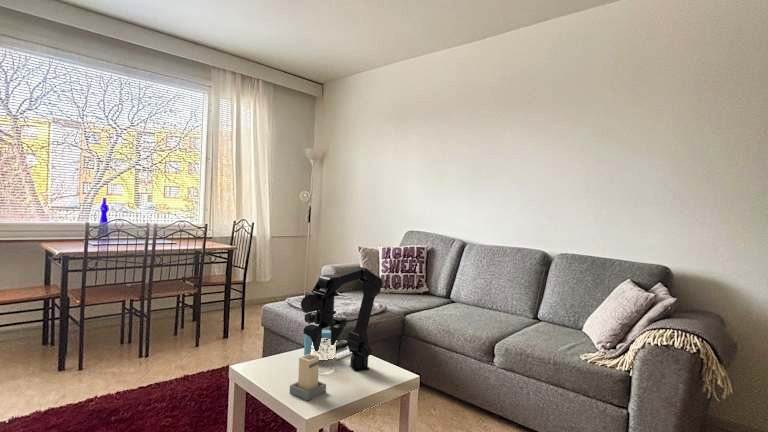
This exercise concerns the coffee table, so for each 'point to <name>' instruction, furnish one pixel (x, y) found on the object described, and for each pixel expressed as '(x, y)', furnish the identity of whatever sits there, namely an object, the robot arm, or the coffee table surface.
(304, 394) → the tray
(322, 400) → the coffee table surface
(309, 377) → the kraft box
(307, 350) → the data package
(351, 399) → the coffee table surface
